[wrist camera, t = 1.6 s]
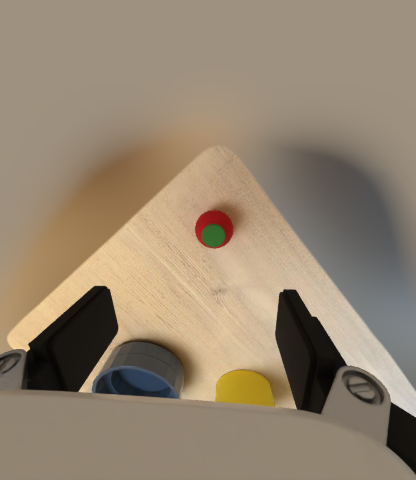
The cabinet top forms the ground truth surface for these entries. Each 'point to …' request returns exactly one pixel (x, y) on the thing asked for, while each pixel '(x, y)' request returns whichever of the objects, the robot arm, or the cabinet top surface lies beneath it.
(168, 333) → the cabinet top surface
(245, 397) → the yellow toilet paper roll
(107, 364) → the bowl
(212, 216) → the toy tomato
